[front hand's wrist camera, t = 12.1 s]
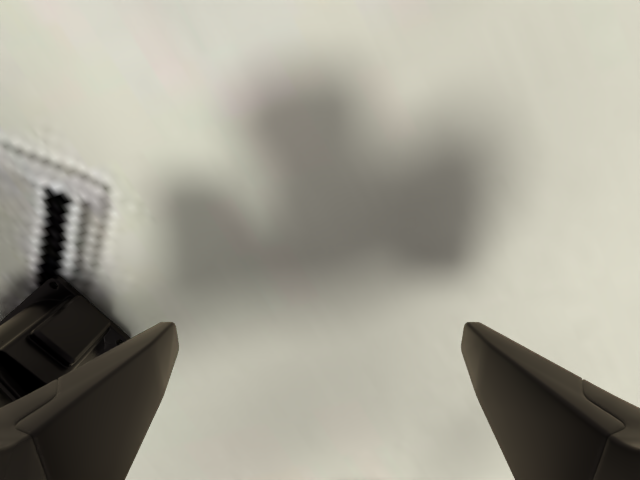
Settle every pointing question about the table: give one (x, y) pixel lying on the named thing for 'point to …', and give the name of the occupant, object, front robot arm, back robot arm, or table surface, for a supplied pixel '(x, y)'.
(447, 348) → the table surface
